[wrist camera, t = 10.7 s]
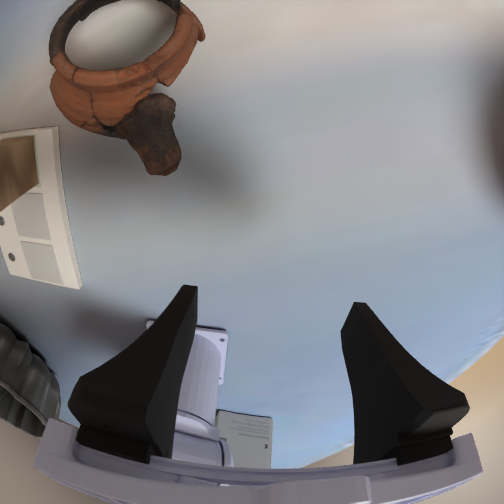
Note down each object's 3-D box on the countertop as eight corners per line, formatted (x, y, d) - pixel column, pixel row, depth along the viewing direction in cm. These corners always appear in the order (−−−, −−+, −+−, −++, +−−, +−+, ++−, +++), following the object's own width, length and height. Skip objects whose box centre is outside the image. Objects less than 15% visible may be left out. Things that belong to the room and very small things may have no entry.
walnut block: (38, 183, 19) (0, 212, 15) (8, 183, 19) (-29, 209, 14) (33, 135, 17) (-10, 156, 12) (2, 139, 16) (-39, 160, 12)
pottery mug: (57, 82, 16) (14, 27, 8) (166, 22, 17) (170, -50, 9) (126, 212, 18) (93, 208, 10) (245, 139, 20) (287, 95, 12)
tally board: (82, 284, 25) (79, 290, 25) (13, 269, 25) (9, 274, 24) (58, 126, 17) (51, 128, 16) (-17, 136, 17) (-23, 139, 16)
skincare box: (273, 416, 38) (274, 511, 26) (260, 431, 41) (259, 515, 29) (215, 408, 37) (206, 506, 25) (208, 423, 40) (199, 510, 28)
